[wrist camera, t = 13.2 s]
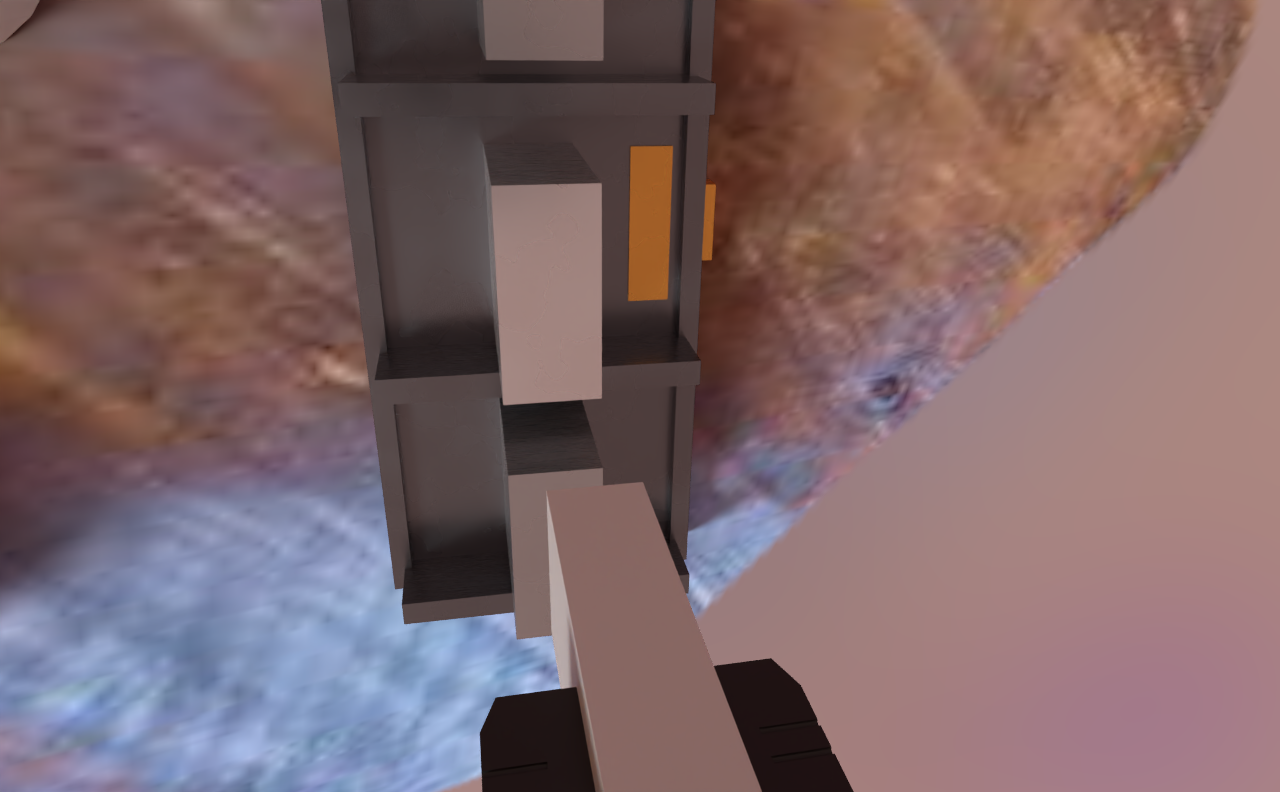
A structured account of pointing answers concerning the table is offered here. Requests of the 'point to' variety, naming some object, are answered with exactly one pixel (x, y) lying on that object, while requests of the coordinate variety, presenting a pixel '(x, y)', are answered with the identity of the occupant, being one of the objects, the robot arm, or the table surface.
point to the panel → (545, 271)
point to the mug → (14, 15)
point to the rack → (461, 276)
